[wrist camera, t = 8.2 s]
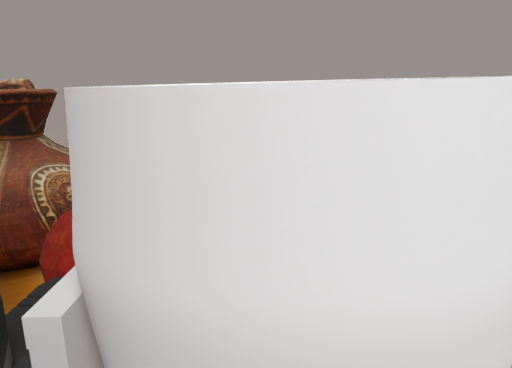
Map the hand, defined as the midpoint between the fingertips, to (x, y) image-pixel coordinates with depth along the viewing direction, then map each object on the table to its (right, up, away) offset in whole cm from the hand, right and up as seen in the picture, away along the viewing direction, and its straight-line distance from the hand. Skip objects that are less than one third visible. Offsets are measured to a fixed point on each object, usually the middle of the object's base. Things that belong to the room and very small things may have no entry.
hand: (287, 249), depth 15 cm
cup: (0, -8, -3) cm, 8 cm away
